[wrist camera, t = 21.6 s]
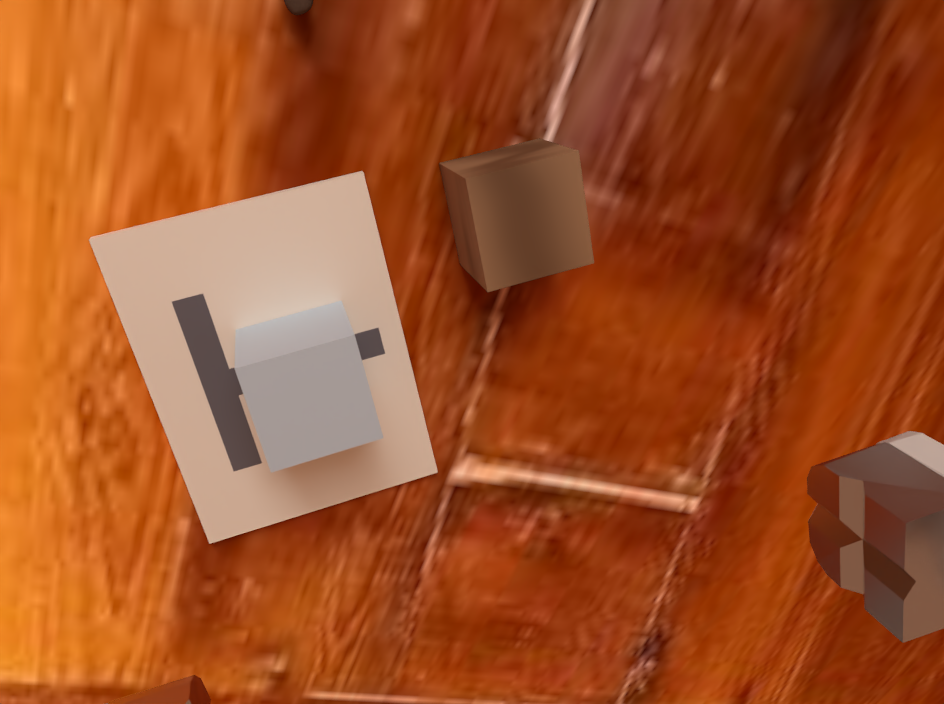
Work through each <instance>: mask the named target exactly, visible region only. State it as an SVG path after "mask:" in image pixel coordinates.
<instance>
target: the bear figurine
mask: <svg viewBox="0 0 944 704" xmlns="http://www.w3.org/2000/svg"><path fill="white" fill-rule="evenodd" d="M284 1H285V4H286V6H287V8H288V10H289V11H290V12H291V13H292V14H294V15H301V14H304V13H306V12H307V11H308V10H309V9H310V8H311V7H312V4H313V0H284Z"/></svg>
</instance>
